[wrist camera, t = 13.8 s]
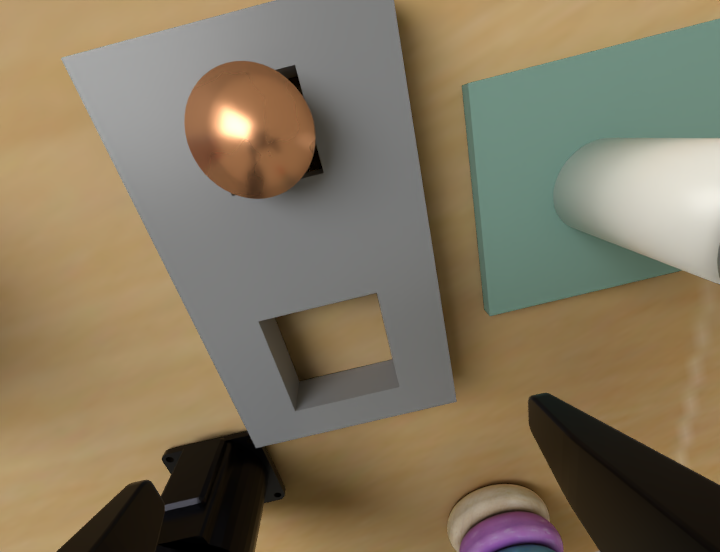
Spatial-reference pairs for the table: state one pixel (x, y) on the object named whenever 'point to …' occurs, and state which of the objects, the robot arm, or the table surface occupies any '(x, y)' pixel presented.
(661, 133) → the rubber mat
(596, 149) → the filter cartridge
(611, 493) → the robot arm
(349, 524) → the table surface
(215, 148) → the button
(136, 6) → the table surface
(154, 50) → the grey board with holes
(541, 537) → the stacking toy
